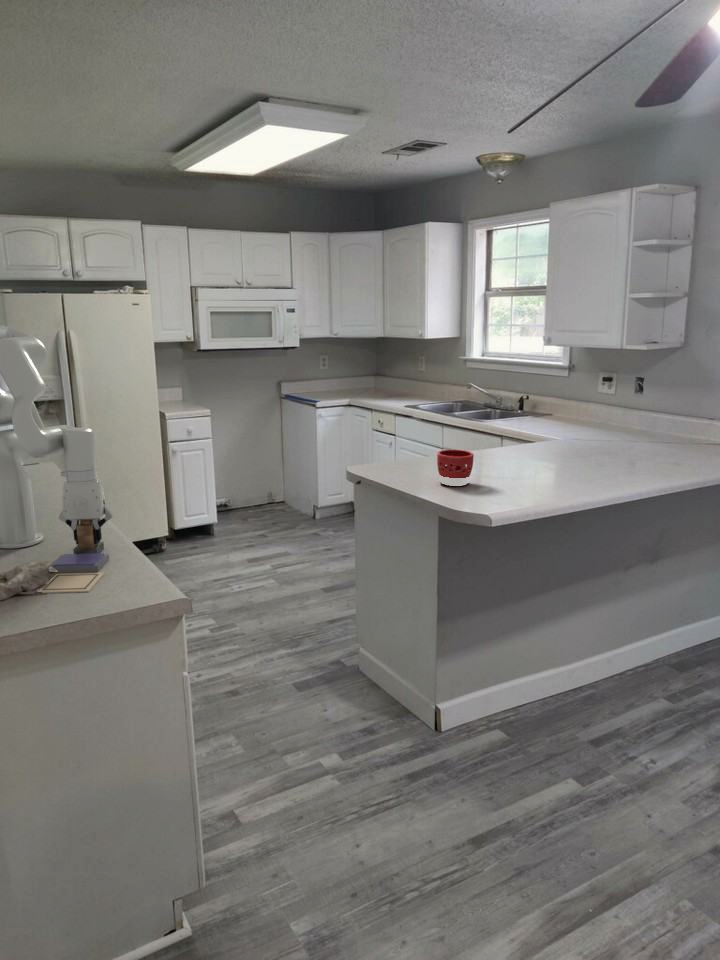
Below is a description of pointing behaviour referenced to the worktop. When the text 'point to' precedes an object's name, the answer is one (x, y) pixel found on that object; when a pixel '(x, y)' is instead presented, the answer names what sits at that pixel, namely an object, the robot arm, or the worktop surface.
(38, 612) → the worktop surface
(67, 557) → the ink pad
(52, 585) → the card
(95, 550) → the stamp
